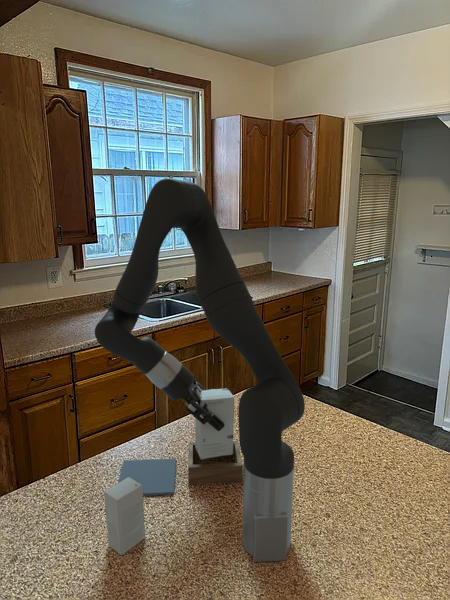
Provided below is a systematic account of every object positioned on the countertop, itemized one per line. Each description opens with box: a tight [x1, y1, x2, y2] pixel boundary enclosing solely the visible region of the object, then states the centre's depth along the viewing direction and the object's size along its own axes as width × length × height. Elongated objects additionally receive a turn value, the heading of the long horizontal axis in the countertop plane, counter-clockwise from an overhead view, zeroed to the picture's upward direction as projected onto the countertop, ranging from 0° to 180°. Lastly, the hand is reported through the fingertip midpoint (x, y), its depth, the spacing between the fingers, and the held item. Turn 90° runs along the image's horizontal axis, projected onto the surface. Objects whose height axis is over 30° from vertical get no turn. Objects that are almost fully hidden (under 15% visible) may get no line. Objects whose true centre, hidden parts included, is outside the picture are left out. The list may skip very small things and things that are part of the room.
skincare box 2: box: [194, 387, 235, 459], centre depth 106 cm, size 8×6×15 cm
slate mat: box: [117, 458, 177, 497], centre depth 106 cm, size 13×13×1 cm
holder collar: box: [187, 440, 244, 486], centre depth 109 cm, size 10×12×4 cm
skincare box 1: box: [103, 477, 146, 556], centre depth 86 cm, size 6×4×12 cm
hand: (220, 420), depth 106 cm, fingers closed on skincare box 2, 6 cm apart
